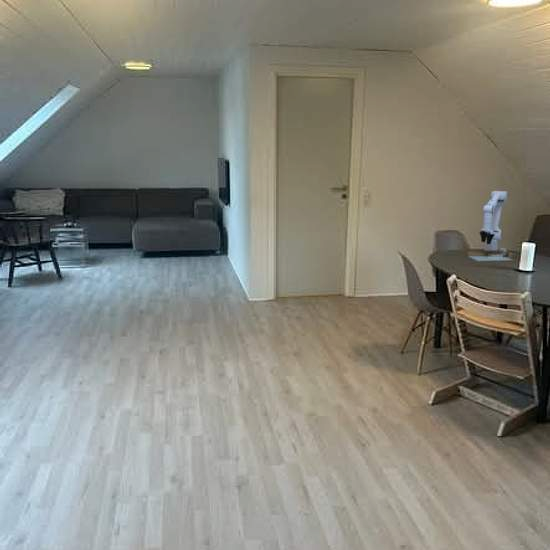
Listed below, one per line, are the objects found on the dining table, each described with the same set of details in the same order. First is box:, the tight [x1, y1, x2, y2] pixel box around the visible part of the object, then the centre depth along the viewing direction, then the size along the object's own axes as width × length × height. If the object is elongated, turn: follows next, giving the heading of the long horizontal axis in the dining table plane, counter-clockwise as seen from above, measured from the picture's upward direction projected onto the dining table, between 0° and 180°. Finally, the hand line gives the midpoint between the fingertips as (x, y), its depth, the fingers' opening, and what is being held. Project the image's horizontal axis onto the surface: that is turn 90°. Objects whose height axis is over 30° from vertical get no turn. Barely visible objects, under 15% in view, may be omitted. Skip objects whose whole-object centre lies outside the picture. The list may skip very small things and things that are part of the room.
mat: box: [467, 256, 513, 262], centre depth 379 cm, size 16×26×1 cm, turn 96°
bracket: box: [488, 247, 507, 258], centre depth 380 cm, size 10×5×6 cm, turn 96°
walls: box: [467, 249, 517, 261], centre depth 378 cm, size 16×26×4 cm, turn 96°
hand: (486, 242), depth 379 cm, fingers open, 7 cm apart
